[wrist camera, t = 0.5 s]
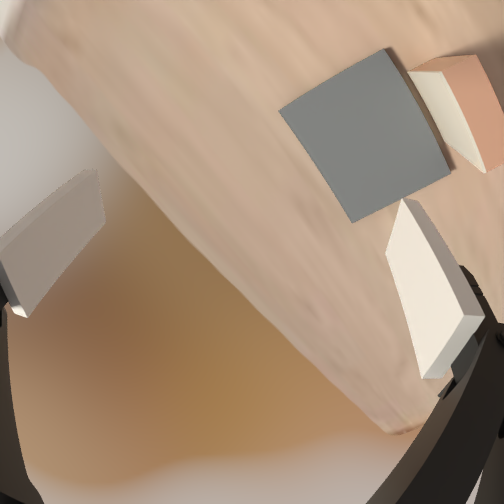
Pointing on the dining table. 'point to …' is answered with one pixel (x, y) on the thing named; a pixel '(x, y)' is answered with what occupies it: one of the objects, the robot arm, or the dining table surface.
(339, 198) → the slate mat
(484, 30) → the dining table surface
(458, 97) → the terracotta block
